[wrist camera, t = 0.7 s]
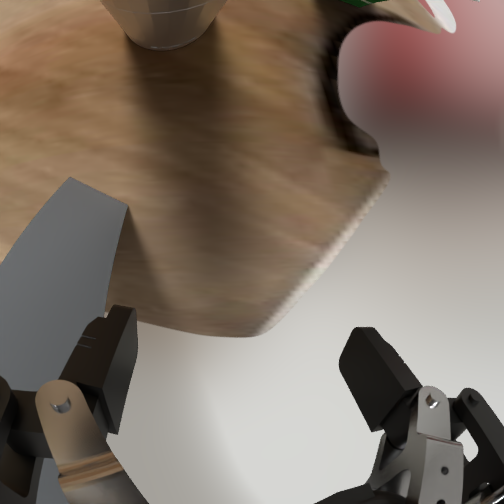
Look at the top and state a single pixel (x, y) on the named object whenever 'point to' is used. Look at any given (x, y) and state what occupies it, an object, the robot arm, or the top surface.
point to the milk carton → (365, 2)
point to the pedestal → (56, 293)
